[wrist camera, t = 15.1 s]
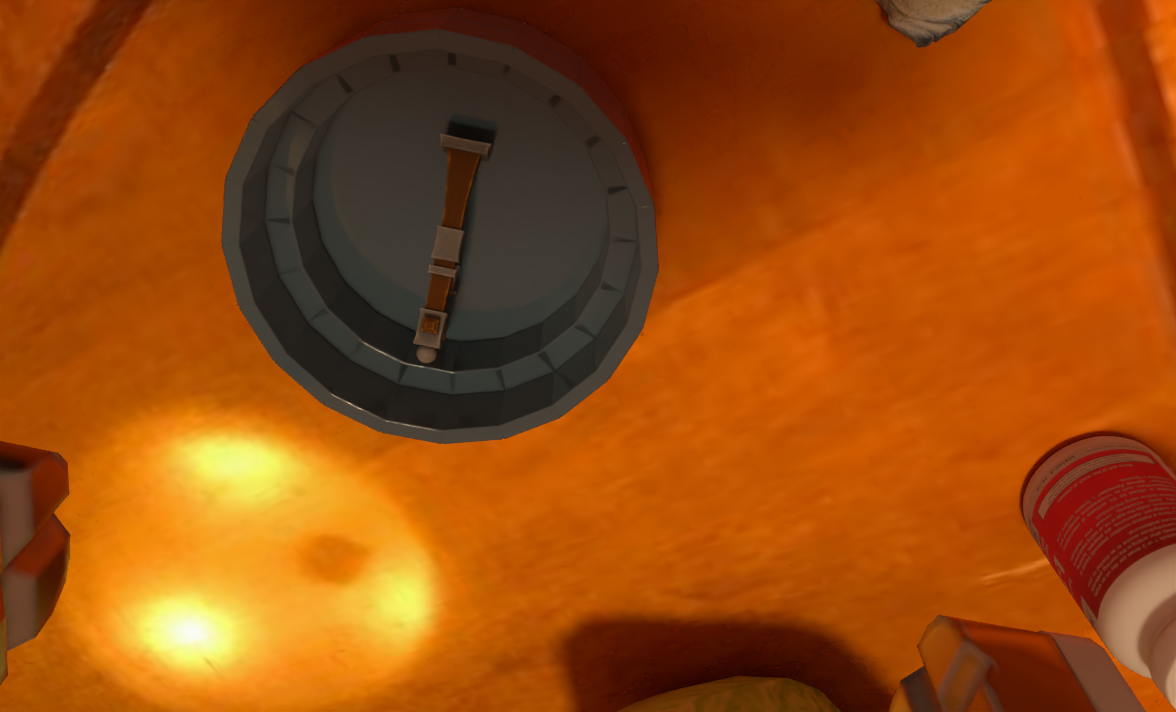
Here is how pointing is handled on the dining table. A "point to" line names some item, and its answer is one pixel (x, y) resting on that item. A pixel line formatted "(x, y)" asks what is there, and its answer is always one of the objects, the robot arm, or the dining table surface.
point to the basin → (414, 210)
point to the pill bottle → (1114, 546)
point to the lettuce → (739, 697)
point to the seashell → (929, 17)
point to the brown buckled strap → (448, 241)
